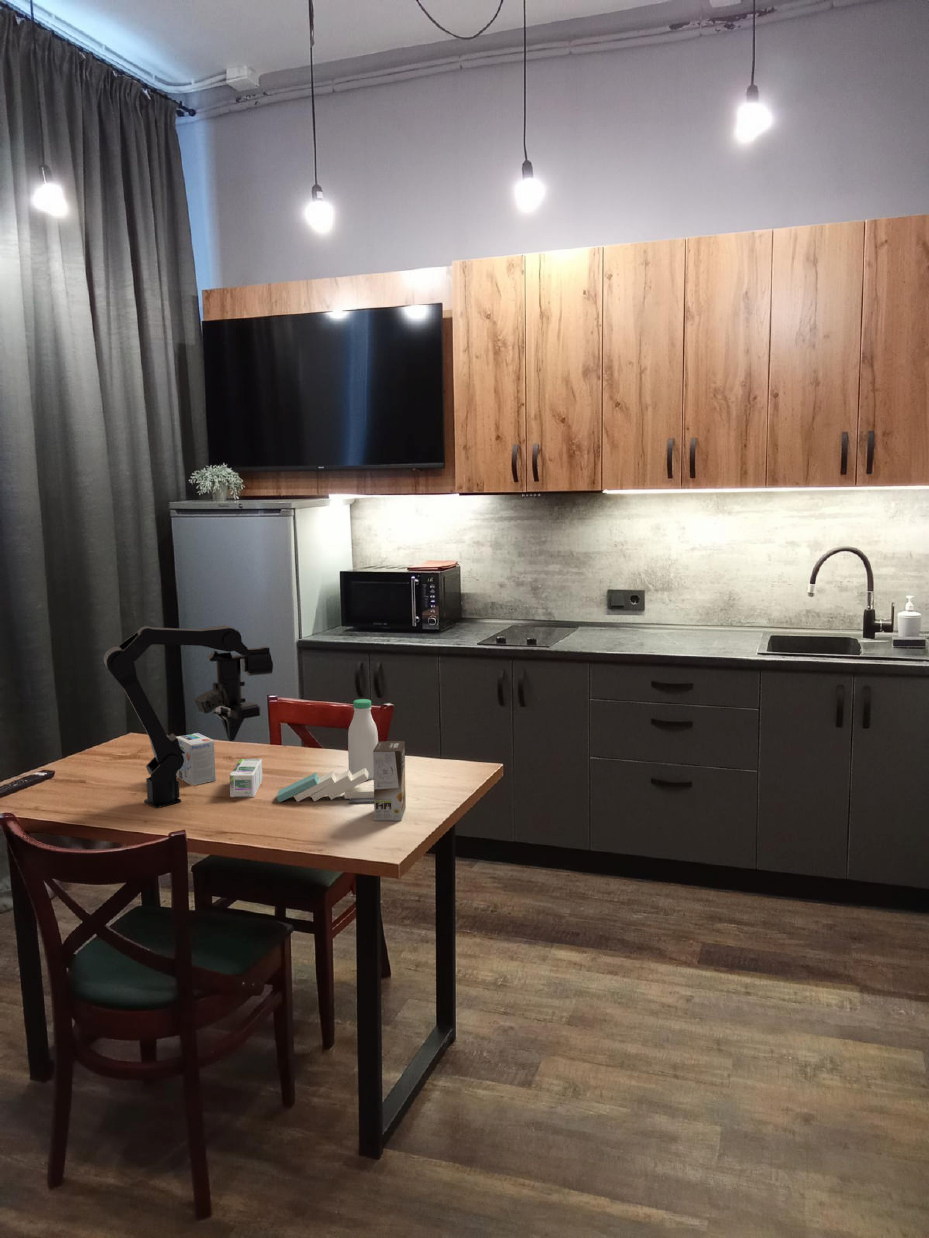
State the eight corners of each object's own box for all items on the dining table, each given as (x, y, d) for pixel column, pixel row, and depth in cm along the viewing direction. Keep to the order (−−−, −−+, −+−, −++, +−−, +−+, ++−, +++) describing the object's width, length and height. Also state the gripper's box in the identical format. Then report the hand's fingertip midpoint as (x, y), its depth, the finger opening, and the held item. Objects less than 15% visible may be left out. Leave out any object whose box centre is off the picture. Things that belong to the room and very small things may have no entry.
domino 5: (344, 792, 226) (386, 790, 227) (345, 785, 231) (387, 784, 231) (344, 798, 226) (386, 797, 227) (346, 792, 231) (387, 791, 232)
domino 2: (294, 796, 225) (331, 776, 225) (296, 789, 230) (333, 770, 230) (297, 801, 226) (334, 782, 225) (299, 795, 230) (336, 776, 230)
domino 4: (327, 794, 226) (364, 773, 226) (329, 787, 231) (365, 767, 231) (331, 799, 226) (367, 779, 226) (332, 793, 231) (368, 773, 231)
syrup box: (262, 758, 243) (253, 773, 228) (262, 780, 243) (253, 797, 229) (239, 758, 242) (228, 774, 228) (240, 781, 243) (229, 798, 229)
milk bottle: (384, 777, 245) (382, 701, 242) (357, 782, 241) (355, 705, 238) (369, 770, 251) (368, 696, 249) (343, 775, 247) (341, 699, 244)
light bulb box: (175, 776, 247) (173, 736, 246) (200, 771, 251) (198, 732, 250) (191, 786, 239) (189, 744, 237) (217, 781, 243) (215, 740, 241)
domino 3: (310, 795, 225) (347, 775, 225) (313, 789, 230) (348, 769, 230) (314, 801, 226) (351, 781, 226) (316, 794, 231) (352, 775, 230)
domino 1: (276, 796, 225) (314, 778, 225) (279, 790, 230) (316, 772, 230) (279, 802, 225) (317, 784, 225) (282, 795, 230) (319, 778, 230)
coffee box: (402, 821, 212) (401, 751, 210) (373, 821, 212) (372, 751, 210) (406, 807, 221) (405, 740, 219) (378, 807, 221) (377, 740, 219)
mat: (349, 803, 224) (349, 801, 224) (351, 790, 234) (351, 788, 234) (392, 802, 224) (392, 800, 224) (392, 789, 234) (392, 787, 234)
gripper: (179, 677, 231) (182, 739, 233) (218, 688, 217) (221, 754, 219) (220, 671, 238) (223, 731, 240) (260, 681, 225) (262, 745, 227)
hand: (231, 740), depth 232 cm, fingers closed
